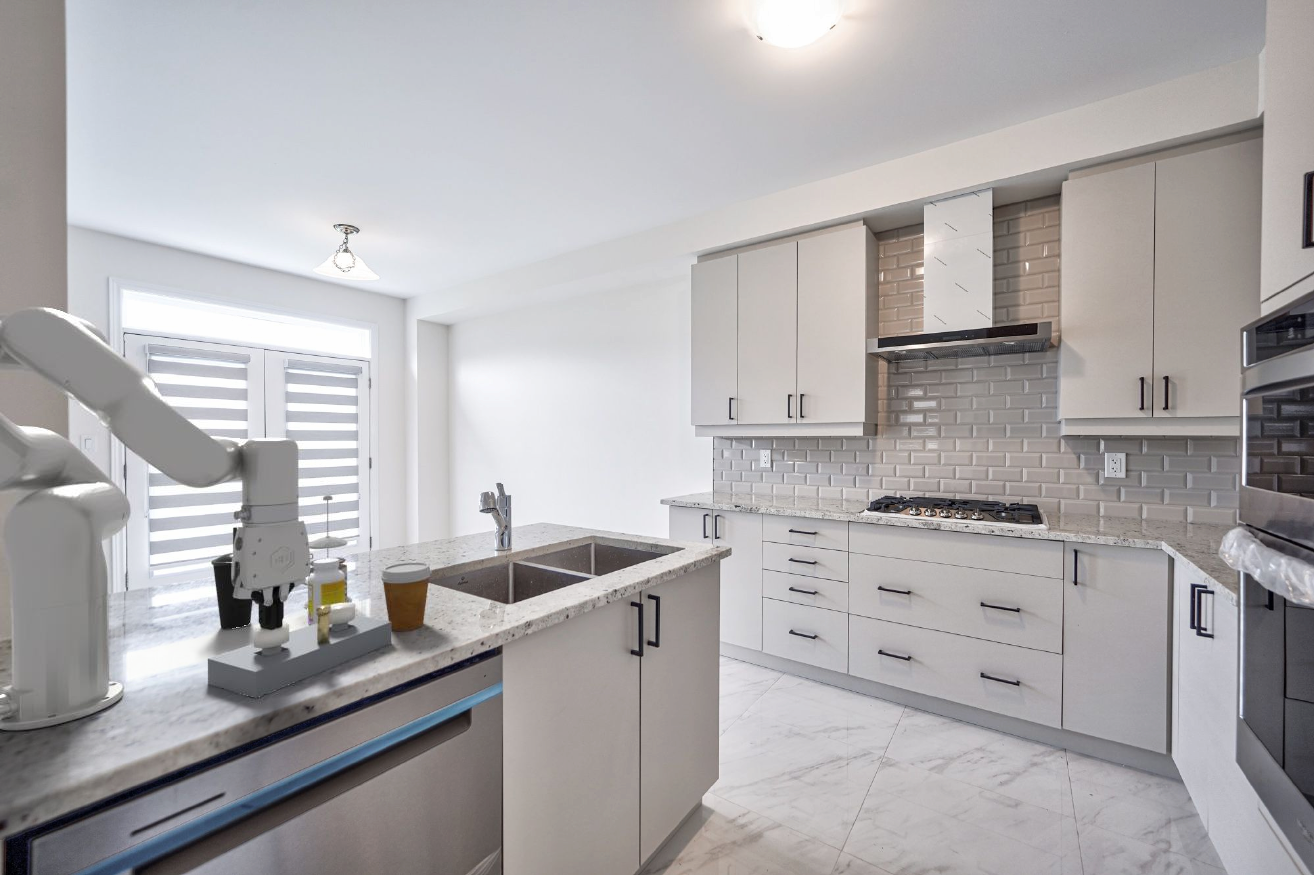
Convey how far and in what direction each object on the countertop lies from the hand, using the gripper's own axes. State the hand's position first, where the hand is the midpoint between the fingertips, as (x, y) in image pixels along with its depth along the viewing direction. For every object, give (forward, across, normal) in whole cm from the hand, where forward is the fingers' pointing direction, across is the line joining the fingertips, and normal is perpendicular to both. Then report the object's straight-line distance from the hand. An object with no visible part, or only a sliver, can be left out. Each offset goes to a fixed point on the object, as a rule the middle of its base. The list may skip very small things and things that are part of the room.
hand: (271, 627), depth 91 cm
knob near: (+7, 0, 0) cm, 7 cm away
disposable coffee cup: (+8, +26, -1) cm, 27 cm away
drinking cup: (+8, +12, +31) cm, 34 cm away
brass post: (+4, +6, -4) cm, 8 cm away
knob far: (+7, +12, 0) cm, 14 cm away
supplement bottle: (+8, +21, +16) cm, 28 cm away
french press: (+8, +29, +28) cm, 41 cm away
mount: (+8, +6, 0) cm, 10 cm away
